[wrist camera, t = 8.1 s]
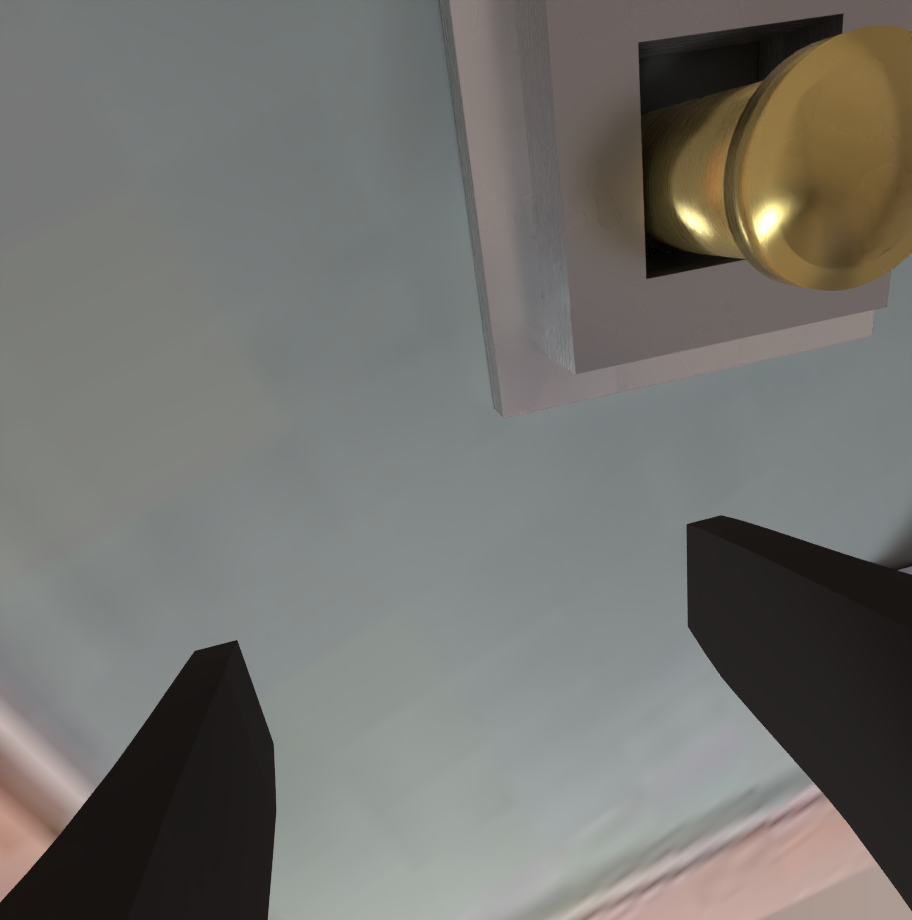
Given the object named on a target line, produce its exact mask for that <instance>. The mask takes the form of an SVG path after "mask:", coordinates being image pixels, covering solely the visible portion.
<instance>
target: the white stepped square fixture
mask: <svg viewBox="0 0 912 920" xmlns="http://www.w3.org/2000/svg"><path fill="white" fill-rule="evenodd" d="M439 3H440V11H441V18H442V25H443V33H444V40H445V48H446V55H447V63H448V70H449V77H450V85H451V92H452V100H453V107H454V115H455V122H456V129H457V137H458V144H459V152H460V159H461V167H462V174H463V181H464V189H465V196H466V204H467V211H468V219H469V226H470V233H471V241H472V248H473V256H474V263H475V271H476V278H477V285H478V293H479V300H480V308H481V315H482V323H483V330H484V337H485V345H486V352H487V360H488V367H489V375H490V382H491V389H492V397H493V404H494V409H495V410H496V411H497V412H498V413H499V414H500V415H501V416H502V417H503V418H507V417H511V416H516V415H520V414H525V413H529V412H534V411H538V410H543V409H547V408H552V407H556V406H561V405H565V404H570V403H574V402H579V401H583V400H588V399H592V398H597V397H601V396H606V395H610V394H615V393H619V392H624V391H628V390H633V389H637V388H642V387H646V386H651V385H655V384H660V383H664V382H669V381H673V380H678V379H682V378H687V377H691V376H696V375H700V374H705V373H709V372H713V371H718V370H722V369H727V368H731V367H736V366H740V365H745V364H749V363H754V362H758V361H763V360H767V359H772V358H776V357H781V356H785V355H790V354H794V353H799V352H803V351H808V350H812V349H817V348H821V347H826V346H830V345H835V344H839V343H844V342H848V341H853V340H857V339H862V338H866V337H871V336H872V327H873V317H874V310H875V309H880V308H885V307H887V301H888V292H889V283H890V274H891V270H890V271H889V272H887V273H886V274H884V275H883V276H881V277H879V278H877V279H875V280H873V281H872V282H869V283H867V284H864V285H861V286H859V287H855V288H851V289H847V290H839V291H824V290H815V289H809V288H803V287H797V286H791V285H786V284H782V283H779V282H776V281H774V280H772V279H770V278H768V277H766V276H765V275H763V274H761V273H760V272H758V271H757V270H756V269H755V268H754V267H753V266H752V265H751V264H750V263H749V262H748V261H747V260H746V259H740V258H731V257H723V256H714V255H706V254H698V253H689V252H681V251H678V252H673V253H668V254H663V255H658V256H652V257H647V258H645V229H644V199H643V170H642V141H641V112H640V82H639V59H644V58H651V57H657V56H664V55H671V54H678V53H685V52H692V51H699V50H706V49H713V48H719V47H726V46H733V45H740V44H747V43H754V42H759V62H758V82H760V81H763V80H764V79H765V78H766V77H767V76H768V75H769V74H770V72H771V71H772V70H773V69H775V68H776V67H777V66H778V65H779V64H780V63H781V62H782V61H784V60H785V59H786V58H788V57H789V56H791V55H792V54H793V53H795V52H796V51H798V50H800V49H802V48H804V47H806V46H808V45H810V44H812V43H815V42H818V41H821V40H823V39H826V38H830V37H833V36H836V35H839V34H842V33H845V32H849V31H852V30H855V29H858V28H862V27H868V26H874V25H890V26H895V27H900V28H904V29H907V30H909V31H912V0H439Z"/></svg>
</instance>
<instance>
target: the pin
mask: <svg viewBox="0 0 912 920" xmlns="http://www.w3.org/2000/svg"><path fill="white" fill-rule="evenodd" d="M641 141H642V170H643V199H644V229H645V247H647V248H655V249H664V250H672V251H681V252H689V253H698V254H706V255H714V256H723V257H731V258H740V259H746V260H747V261H748V262H749V263H750V264H751V265H752V266H753V267H754V268H755V269H756V270H757V271H758V272H760V273H761V274H763V275H765V276H766V277H768V278H770V279H772V280H774V281H776V282H779V283H782V284H786V285H791V286H797V287H803V288H809V289H815V290H824V291H839V290H847V289H851V288H855V287H859V286H861V285H864V284H867V283H869V282H872V281H873V280H875V279H877V278H879V277H881V276H883V275H884V274H886V273H887V272H889V271H890V270H892V269H893V268H895V267H896V266H897V265H898V264H899V263H901V262H902V261H903V260H904V259H905V258H907V257H908V256H909V254H910V253H911V252H912V31H909V30H907V29H904V28H900V27H895V26H890V25H874V26H868V27H862V28H858V29H855V30H852V31H849V32H845V33H842V34H839V35H836V36H833V37H830V38H826V39H823V40H821V41H818V42H815V43H812V44H810V45H808V46H806V47H804V48H802V49H800V50H798V51H796V52H795V53H793V54H792V55H791V56H789V57H788V58H786V59H785V60H784V61H782V62H781V63H780V64H779V65H778V66H777V67H776V68H775V69H773V70H772V71H771V72H770V74H769V75H768V76H767V77H766V78H765V79H764V80H763V81H760V82H756V83H753V84H749V85H745V86H742V87H738V88H734V89H730V90H727V91H723V92H719V93H715V94H712V95H708V96H704V97H701V98H697V99H693V100H689V101H686V102H682V103H678V104H675V105H671V106H667V107H663V108H660V109H656V110H653V111H650V112H648V113H646V114H644V115H642V116H641Z"/></svg>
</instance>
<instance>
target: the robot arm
mask: <svg viewBox="0 0 912 920" xmlns="http://www.w3.org/2000/svg"><path fill="white" fill-rule="evenodd" d="M687 595H688V627H689V629H690V631H691V632H692V634H693V635H694V637H695V638H696V640H697V641H698V643H699V645H700V646H701V648H702V649H703V651H704V652H705V654H706V655H707V657H708V658H709V660H710V661H711V663H712V664H713V665H714V667H715V668H716V670H717V671H718V673H719V674H720V676H721V677H722V678H723V679H724V681H725V682H726V683H727V684H728V685H729V687H730V688H731V689H732V690H733V691H734V692H735V694H736V695H737V696H738V697H739V698H740V699H741V700H742V702H743V703H744V704H745V705H746V706H747V707H748V709H749V710H750V711H751V712H752V713H753V714H754V715H755V717H756V718H757V719H758V720H759V721H760V722H761V723H762V725H763V726H764V727H765V728H766V729H767V730H768V731H769V732H770V734H771V735H772V736H773V737H774V738H775V739H776V740H777V741H778V743H779V744H780V745H781V746H782V747H783V748H784V749H785V750H786V752H787V753H788V754H789V755H790V756H791V757H792V758H793V760H794V761H795V762H796V763H797V764H798V765H799V766H800V767H801V769H802V770H803V771H804V772H805V773H806V774H807V775H808V776H809V778H810V779H811V780H812V781H813V782H814V783H815V784H816V786H817V787H818V788H819V789H820V790H821V791H822V792H823V793H824V795H825V796H826V797H827V798H828V799H829V801H830V802H831V803H832V804H833V806H834V807H835V808H836V809H837V810H838V812H839V813H840V814H841V815H842V817H843V818H844V819H845V820H846V821H847V823H848V824H849V825H850V827H851V828H852V829H853V831H854V832H855V833H856V835H857V836H858V838H859V839H860V840H861V842H862V843H863V844H864V846H865V847H866V848H867V850H868V851H869V852H870V854H871V855H872V857H873V858H874V859H875V861H876V862H877V863H878V865H879V866H880V867H881V869H882V870H883V871H884V873H885V874H886V876H887V877H888V878H889V880H890V881H891V882H892V884H893V885H894V887H895V888H896V889H897V891H898V892H899V893H900V895H901V896H902V898H903V899H904V901H905V902H906V904H907V905H908V906H909V908H910V909H911V911H912V566H911V567H907V568H904V569H900V570H894V569H891V568H888V567H884V566H881V565H878V564H874V563H871V562H868V561H865V560H862V559H858V558H855V557H852V556H849V555H846V554H843V553H840V552H837V551H834V550H831V549H828V548H824V547H821V546H818V545H815V544H812V543H809V542H806V541H803V540H800V539H797V538H794V537H791V536H788V535H785V534H782V533H779V532H776V531H773V530H770V529H767V528H764V527H761V526H758V525H754V524H751V523H748V522H744V521H741V520H737V519H734V518H730V517H725V516H717V517H713V518H709V519H705V520H701V521H697V522H694V523H690V524H687ZM275 820H276V787H275V764H274V743H273V741H272V738H271V735H270V732H269V729H268V726H267V723H266V721H265V718H264V715H263V712H262V709H261V706H260V704H259V701H258V698H257V695H256V692H255V689H254V686H253V684H252V681H251V678H250V675H249V672H248V669H247V667H246V664H245V661H244V658H243V655H242V652H241V650H240V647H239V644H238V641H237V640H236V641H232V642H228V643H224V644H220V645H216V646H212V647H209V648H205V649H201V650H197V651H195V652H194V653H193V654H192V656H191V657H190V659H189V660H188V661H187V663H186V664H185V666H184V667H183V668H182V670H181V671H180V673H179V674H178V676H177V677H176V679H175V680H174V681H173V683H172V684H171V686H170V687H169V689H168V690H167V692H166V693H165V694H164V696H163V697H162V699H161V700H160V702H159V703H158V705H157V706H156V707H155V709H154V710H153V712H152V713H151V715H150V716H149V718H148V719H147V720H146V722H145V723H144V725H143V726H142V728H141V729H140V730H139V732H138V733H137V735H136V736H135V737H134V739H133V740H132V742H131V743H130V744H129V746H128V747H127V748H126V750H125V751H124V753H123V754H122V755H121V757H120V758H119V760H118V761H117V762H116V764H115V765H114V766H113V768H112V769H111V770H110V772H109V773H108V774H107V775H106V777H105V778H104V779H103V780H102V782H101V783H100V784H99V786H98V787H97V788H96V789H95V791H94V792H93V793H92V795H91V796H90V797H89V798H88V800H87V801H86V802H85V803H84V805H83V806H82V807H81V809H80V810H79V811H78V812H77V814H76V815H75V816H74V817H73V819H72V820H71V821H70V823H69V824H68V825H67V826H66V828H65V829H64V830H63V831H62V833H61V834H60V835H59V836H58V837H57V839H56V840H55V841H54V842H53V843H52V845H51V846H50V847H49V848H48V849H47V851H46V852H45V853H44V854H43V855H42V856H41V858H40V859H39V860H38V861H37V862H36V863H35V864H34V866H33V867H32V868H31V869H30V870H29V871H28V873H27V874H26V875H25V876H24V877H23V878H22V879H21V880H20V881H19V882H18V884H17V885H16V886H15V887H14V888H13V889H12V890H11V891H10V892H9V893H8V895H7V896H6V897H5V898H4V899H3V900H2V901H1V902H0V920H268V908H269V896H270V884H271V872H272V860H273V847H274V834H275Z"/></svg>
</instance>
